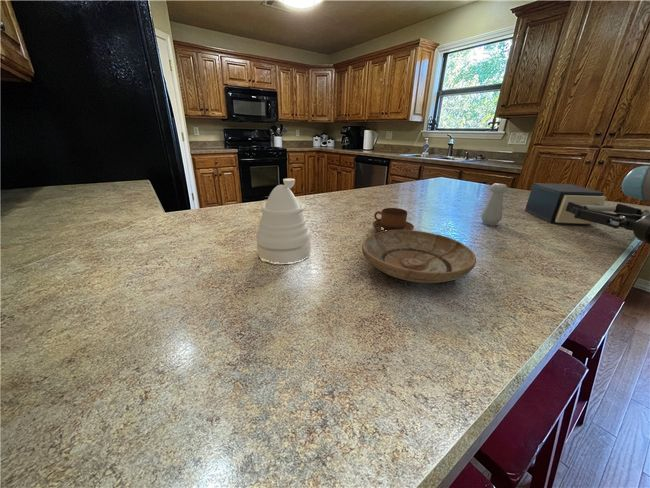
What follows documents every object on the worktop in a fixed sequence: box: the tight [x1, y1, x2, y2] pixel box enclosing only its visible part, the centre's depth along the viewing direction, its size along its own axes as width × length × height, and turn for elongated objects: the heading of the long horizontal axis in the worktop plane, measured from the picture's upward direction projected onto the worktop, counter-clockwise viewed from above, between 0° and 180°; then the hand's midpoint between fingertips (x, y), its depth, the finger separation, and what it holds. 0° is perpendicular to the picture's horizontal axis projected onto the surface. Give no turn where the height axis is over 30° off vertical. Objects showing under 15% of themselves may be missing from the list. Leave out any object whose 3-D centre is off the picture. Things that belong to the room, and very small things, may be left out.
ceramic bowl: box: [361, 229, 477, 284], centre depth 59 cm, size 23×24×5 cm
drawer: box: [554, 194, 616, 225], centre depth 88 cm, size 20×11×9 cm, turn 174°
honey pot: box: [256, 177, 312, 263], centre depth 62 cm, size 13×13×18 cm
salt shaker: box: [480, 182, 508, 227], centre depth 85 cm, size 6×6×13 cm
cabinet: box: [524, 182, 605, 225], centre depth 93 cm, size 15×13×11 cm
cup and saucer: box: [372, 207, 415, 232], centre depth 80 cm, size 12×12×6 cm
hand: (592, 207), depth 81 cm, fingers open, 13 cm apart
